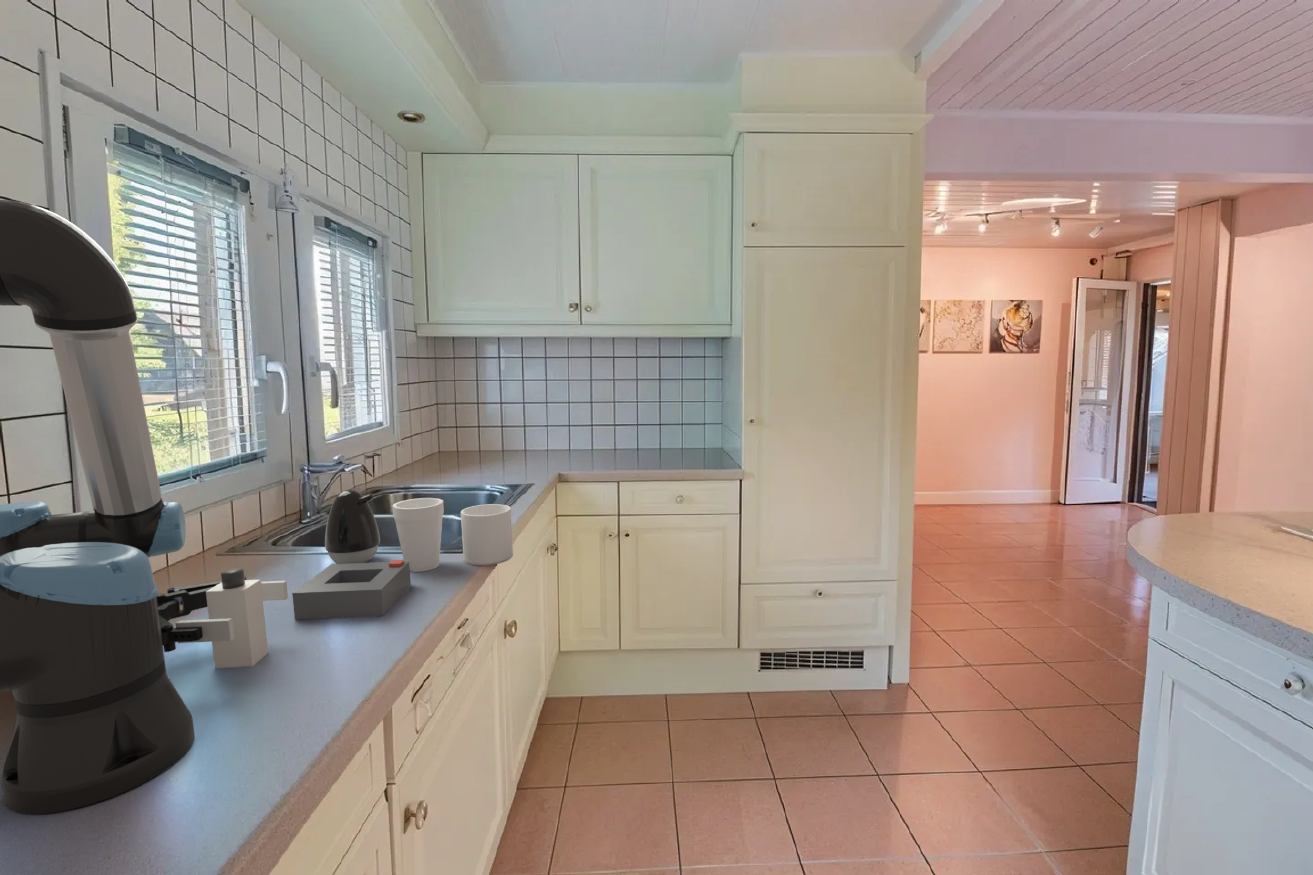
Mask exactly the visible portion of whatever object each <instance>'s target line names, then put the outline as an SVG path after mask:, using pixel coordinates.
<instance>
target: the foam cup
mask: <svg viewBox="0 0 1313 875" xmlns="http://www.w3.org/2000/svg"><path fill="white" fill-rule="evenodd" d="M444 509H445V507H444V499H441V498H437V497H436V498H434V497H421V498H412V499H410V498H409V499H406V500H405V499H404V500H400V501H397V502H395V503H393V505H392V516H393V518H392V519H394V522H395V525H396V531H397V536H398V540H399V545H400V549H401V553H402V558H403V559H402V560H404V561H409V567H410V572H413V573H416V572H419V573H420V572H426V571H430V570H434V569H436V568H437V567H439V566H440V559H441V558H440V557H441V556H440V555H441V543H442V542H441V541H442V530H443V515H444V513H445V510H444Z"/></svg>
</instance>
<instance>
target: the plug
mask: <svg viewBox="0 0 1313 875" xmlns="http://www.w3.org/2000/svg"><path fill="white" fill-rule="evenodd" d="M244 577H245V571H244V568H238V567H237V568H231V569H227V570H224V571H222V572H220V578H221V581H222V582H221V583H220V584H218V585H216V586H215V587H213V588H211V589H209V590H208V591H206V598H207V606H208V607H207V612H208V619H227V618H232V623H233V632H234V639H232V640H231V641H214V642H211V646H212V655H213V663H214V664H213V665H214V669H226V668H227V669H228V668H229V669H230V668H247V667H249V668H250V667H251V668H252V667H254V666H255V665H256V664H257V663H258V662H260V661H261V660H262V659H263V658H264V657H266V656H267V654H269V646H268V636H267V628H266V627H267V626H266V618H265V617H266V616H265V608H264V601H263V597H262V588H261V582H262V581H261V579H246V580H245V579H244Z"/></svg>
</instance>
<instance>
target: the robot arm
mask: <svg viewBox="0 0 1313 875" xmlns="http://www.w3.org/2000/svg"><path fill="white" fill-rule="evenodd" d="M0 306H11V307H12V306H15V307H16V306H18V307H19V306H20V307H22V306H27V307H29V308H30V311H31V312H32V316H33V320H34V324H35V326H36V327H37V328H39V329H40V330H43V331H44V332H46V333H48V335H49V337H50V342H51V345H52V350H53V353H54V357H55V362H56V364H57V365H56V366H57V369H58V374H59V377H60V381H61V385H62V389H63V392H64V397H65V401H66V405H67V408H68V413H69V417H70V420H71V425H72V429H73V432H74V437H75V441H76V444H77V449H78V453H79V457H80V461H81V465H82V468H83V472H84V476H85V480H86V484H87V485H86V486H87V489H88V493H89V496H90V500H91V504H92V507H93V510H88V511H77V512H70V513H60V514H59V513H57V514H52V511H51V510H50V508H49V506H48V504H47V503H45V502H42V501H21V502H20V501H19V502H12V503H5V504H0V693H1V692H6V691H11V693H12V696H13V698H14V704H15V705H14V706H15V713H16V720H15V726H14V728H13V732H12V736H11V740H10V744H9V746H8V749H7V753H6V758H5V761H4V765H3V769H2V772H1V779H0V784H1V790H2V796H3V802H4V804H5V806H6V807H7V808H8V809H10V810H12V811H15V812H17V813H21V814H35V815H36V814H38V815H39V814H52V813H59V812H64V811H70V810H74V809H77V808H82V807H85V806H88V805H89V806H90V805H92V804H95V803H98V802H101V801H105V800H107V799H110V798H113V797H116V796H118V795H121V794H124V793H126V792H127V791H130V790H132V789H134V788H136V787H138V786H140V785H142V784H144V783H146V782H148V781H149V780H152V779H154V778H155V777H157V776H158V775H160V774H161V773H163V772H165V771H166V770H167V769H169V768H170V767H172V766H173V765H174V764H176V763H177V762H178V761H179V760H180V759H182V757H183V756H184V755H186V753H187V752H188V751H189V750H190V748H191V746H192V745H193V742H194V741H195V728H194V719H193V716H192V714H191V712H190V710H189V709H188V707H187V705H186V704H185V701H183V698H182V697H181V696H180V694H179V692H178V691H177V689H176V687H175V686H174V685H173V684H174V683H172V681H171V680H170V677H168V674H167V668H166V662H165V654H164V653H170V652H173V651H175V650H176V649H177V647H176V643H177V644H189V643H207V642H208V643H209V642H210V643H212V642H214V641H231V640H232V639H234V632H233V623H232V618H227V619H209V618H208V619H184V620H181V619H180V620H178V621H176V622H175V627H174V624H173V623H171V622H170V620H172V619H173V620H174V619H176V618H181V617H186V616H188V615H190V614H191V612H192V611H196V610H200V609H204V608H208V606H207V598H206V591H208V590H209V589H211V588H213V587H215V586H216V585H218V584H220V583H221V582H222V580H216V581H210V582H203V583H199V584H197V583H196V584H193V585H192V584H191V585H184V586H171V587H169V588H167V589H166V592H167V593H159V589H158V586H157V584H156V583H155V578H154V574H153V569H152V565H151V561H150V558H152V557H156V556H161V555H166V554H171V553H175V552H179V551H180V550H182V549H183V548H184V546H185V544H186V537H187V536H186V534H187V532H186V531H187V530H186V520H185V518H186V517H185V513H184V510H183V507H182V505H181V503H179V502H177V501H172V502H171V501H163V498H162V491H161V486H160V481H159V475H158V470H157V467H156V460H155V455H154V449H153V444H152V440H151V435H150V429H149V424H148V418H147V415H146V410H145V404H144V400H143V399H144V398H143V394H142V389H141V383H140V377H139V374H138V367H137V362H136V357H135V352H134V346H133V342H132V337H131V331H130V329H132V328H133V327H135V325H137V323H138V316H137V311H136V310H137V309H136V304H135V300H134V298H133V294H132V291H131V289H130V287H129V285H128V283H127V281H126V279H125V278H124V276H123V274H122V273H121V271H120V270H119V268H118V266H117V265H116V263H115V262H114V261H113V260H112V258H111V257H110V256H109V254H108V253H106V251H105V250H104V249H103V248H102V246H100V245H99V243H97V242H96V241H95V240H94V239H93V238H91V237H90V235H88V234H87V233H86V232H84V231H83V230H82V229H81V228H79V227H78V226H77V225H76V224H73V223H72V222H71V221H69V220H67V219H66V218H64V217H62V216H61V215H59V214H57V213H55V212H53V211H50V210H49V209H45V208H43V207H40V206H37V205H36V204H30V203H27V202H25V201H24V202H23V201H17V200H9V199H0ZM244 579H245V580H247V577H246V576H244ZM261 588H262V597H263V602H265V601H285V600H288V598H289V595H288V594H289V593H288V585H287V580H271V581H270V580H269V581H261ZM180 606H182V609H181V608H180Z"/></svg>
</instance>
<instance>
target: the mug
mask: <svg viewBox="0 0 1313 875" xmlns="http://www.w3.org/2000/svg"><path fill="white" fill-rule="evenodd" d="M511 510H512V509H511V506H509V505H507V504H500V503H499V504H498V503H490V504H478V505H472V506H469V507H465V508H463V509H462V510H461V511H460V523H461V524H460V525H461V526H460V527H461V539H462V540H461V541H462V555H463V557H462V558H463V561H464V562H465V563H466V564H468V565H471V566H478V567H479V566H480V567H481V566H482V567H483V566H485V567H486V566H492V565H498V564H503V563H506V562H508V561H509V560H511V559H512V558H513V557H514V551H513V550H514V548H513V546H514V545H513V530H512V526H513V525H512V511H511Z"/></svg>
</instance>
